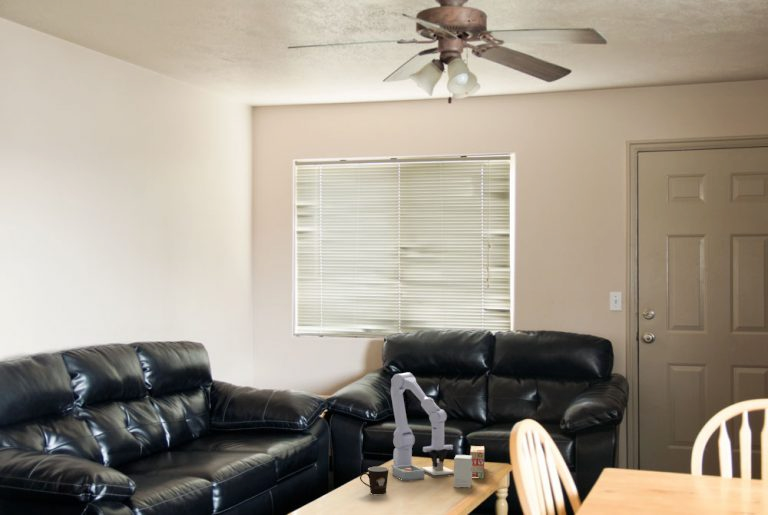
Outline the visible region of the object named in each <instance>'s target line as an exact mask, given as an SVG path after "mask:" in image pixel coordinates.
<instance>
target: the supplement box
mask: <svg viewBox="0 0 768 515" xmlns="http://www.w3.org/2000/svg"><path fill="white" fill-rule="evenodd" d="M453 471H454V476H453V487H454V488H460V487H470V488H471V487H472V485H473V479H472V456H471V455H470V454H469V455H468V454H467V455H466V454H455V457H454V458H453ZM471 484H472V485H471Z"/></svg>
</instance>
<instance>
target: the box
mask: <svg viewBox="0 0 768 515" xmlns="http://www.w3.org/2000/svg"><path fill="white" fill-rule="evenodd" d="M393 475H394V476H393ZM392 476H393V477H395V476H396V477H395V478H397V477H398V478H397V479H399V478H400V479H399V480H401V479H402V480H401V481H402V482H409V481H410V480H412V481H418V480H419V481H420V480H425V473H424V470H423V469H421V467H419V466H416V465H414V464H412V465H403V466H393V465H392Z"/></svg>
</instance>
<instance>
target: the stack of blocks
mask: <svg viewBox="0 0 768 515" xmlns="http://www.w3.org/2000/svg"><path fill="white" fill-rule="evenodd" d="M469 455H471V456H472V477H479V478H484V479H485V446H484V445H483V446H482V445H481V446H478V445H477V446H476V445H470V452H469Z"/></svg>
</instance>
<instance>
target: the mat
mask: <svg viewBox="0 0 768 515" xmlns="http://www.w3.org/2000/svg"><path fill="white" fill-rule="evenodd" d="M424 475H427V476H428V477H431V478H433V477H435V478H442V477H441V476H444V477H449V476H448V475H454V473H450V474H444V475H433V474H430V473H428V472H426V471H424Z"/></svg>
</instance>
